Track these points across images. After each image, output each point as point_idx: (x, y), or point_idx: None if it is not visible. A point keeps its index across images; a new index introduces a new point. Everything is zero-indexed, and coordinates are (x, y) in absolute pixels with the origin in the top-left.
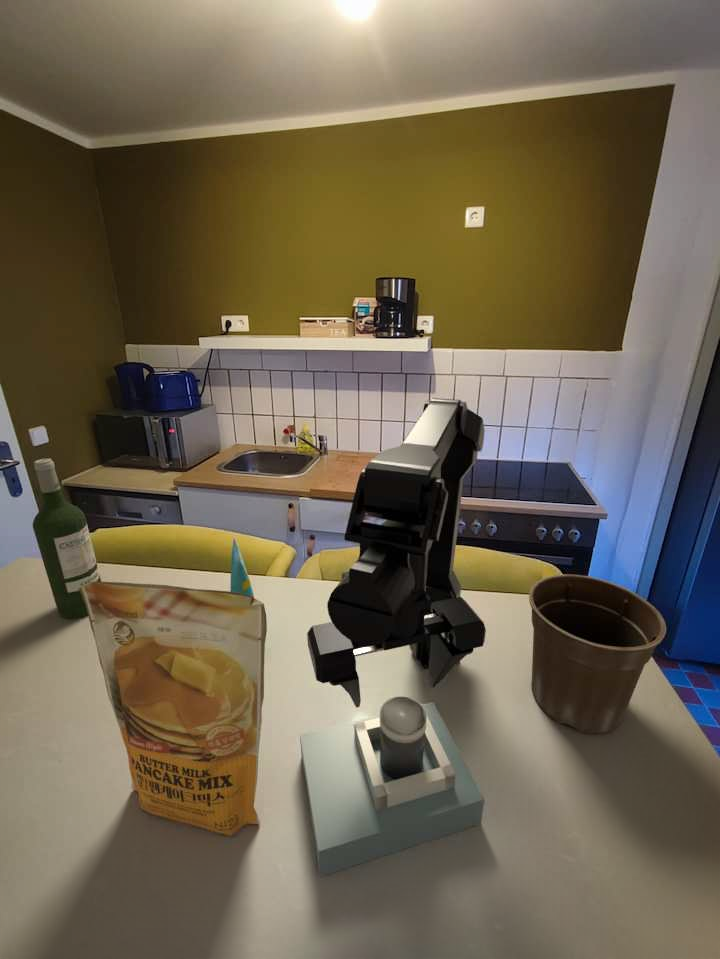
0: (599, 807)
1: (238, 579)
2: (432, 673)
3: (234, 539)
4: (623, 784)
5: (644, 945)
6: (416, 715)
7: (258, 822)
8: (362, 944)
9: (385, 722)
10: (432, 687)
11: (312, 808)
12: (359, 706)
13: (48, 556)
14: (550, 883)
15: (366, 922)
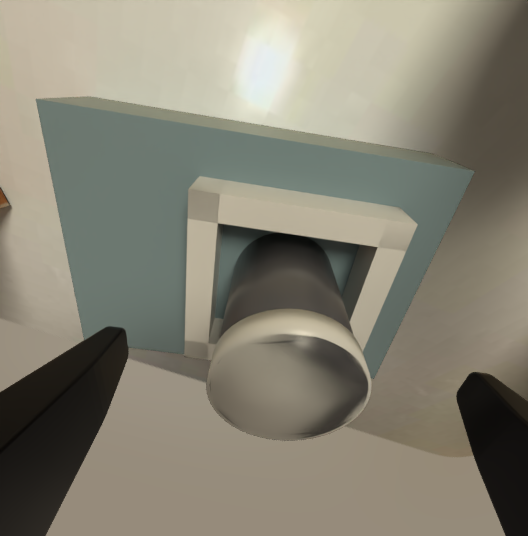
0: (520, 376)
1: None
2: (511, 469)
3: None
4: None
5: (409, 443)
6: (327, 406)
7: (3, 206)
8: (155, 363)
9: (218, 391)
10: (458, 404)
11: (75, 287)
12: (124, 363)
13: None
14: (379, 397)
15: (165, 352)
